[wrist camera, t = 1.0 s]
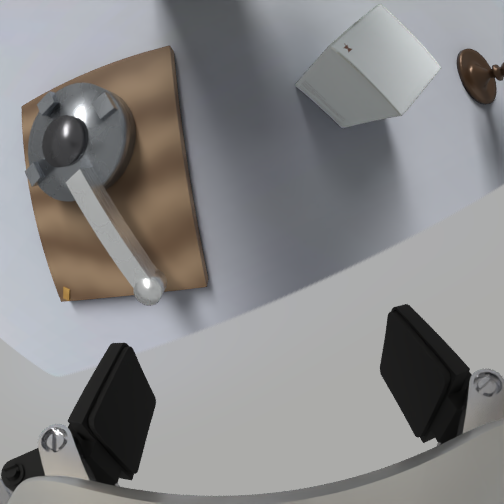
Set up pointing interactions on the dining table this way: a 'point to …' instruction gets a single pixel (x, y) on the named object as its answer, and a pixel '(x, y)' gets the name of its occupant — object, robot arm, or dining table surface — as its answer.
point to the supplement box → (369, 71)
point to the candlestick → (478, 75)
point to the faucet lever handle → (92, 171)
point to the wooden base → (129, 190)
